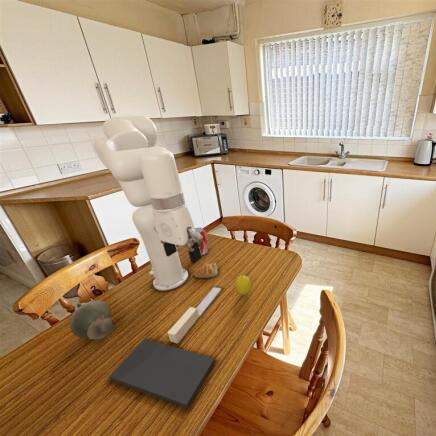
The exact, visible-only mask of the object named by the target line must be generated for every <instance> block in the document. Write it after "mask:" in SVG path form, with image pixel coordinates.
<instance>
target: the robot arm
mask: <svg viewBox="0 0 436 436" xmlns="http://www.w3.org/2000/svg"><path fill="white" fill-rule="evenodd" d="M102 131H103V135H99V136H97V137H96V138H94V140H93V148H94V151H95V153H96V155H97V157H98V159H99V160H100V162H101V163H102V164H103V166H104V167H105V168H106V169H107V170H108V171H109V172H110V173H111V174H112V176H113V177H114V178H115V179H116V180H117V181H118V184H119V186H120V187H121V188H120V189H122V191H123V193H124V195H125V197H126V199H127V201H128V203H129V204H130V205H131V206H133V207H135V208H136V209H135V210H134V211H133V212H132V214H131V216H132V217H131V218H132V222H133V225H134V226H135V228H136V230H137V232H138V233H139V235H140V238H141V240H142V242H143V245H144V247H145V250H146V253H147V256H148V259H149V262H150V265H151V271H149V272H148V273H149V275H150V276H153V278H154V279H153V281H152V285H153V287H154V289H155V290H158V291H170V290H173V289H177V288H178V287H180V286H182V285H184V283H186V281H187V280H188V278H189V272H188V270H187V269H185V268H183V267H182V262H181V259H180V255H179V251H178V248H177V246H178V247H179V246H180V247H183V246H186V248H187V249H188V256H189V260H190V263H191V264H192V265H194V264H196V263H198V262H199V261H200V260H202V255H201V253H200V249H199V247H200V245H201V244H202V239H203V236H202V235H200V234H199V233H198V232H196V231H195V228H196V227H195V224H194V221H193V219H192V216H191V213H190V210H189V208H188V206H187V204H186V200H185V195H184V192H183V191H184V190H183V188H182V184H181V180H180V176H179V171H178V167H177V163H176V159H175V156H174V154H173V153H172V151H170V150H168V149H166V148H165V147H164V146H156V144H157V141H158V129H157V127H156V124H155V122H154V121H153V120H152V119H151V118H149V117H148V116H145V115H127V116H124V115H123V116H113V117H110V118H107V119H106V120H105V121H104V122H103V124H102ZM191 242H193V243H194V244H193V243H191Z"/></svg>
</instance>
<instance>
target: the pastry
mask: <svg viewBox="0 0 436 436" xmlns="http://www.w3.org/2000/svg"><path fill="white" fill-rule="evenodd" d="M218 273H219V272H218V264H217V263H216V262H212V263H206V264H204V265H202V266H199V267H197V268H196V269H195V270H194V271H193V273H192V275H193V276H194V277H195V278H198V279H201V278H202V279H206V278H214V277H216V276H217V275H218Z"/></svg>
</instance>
